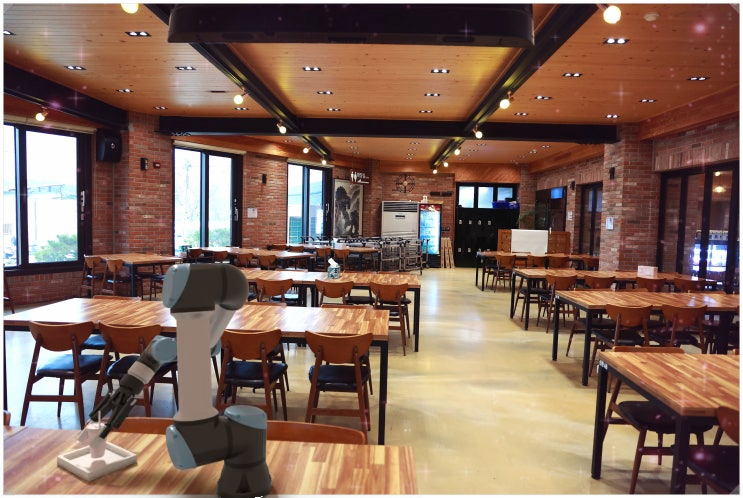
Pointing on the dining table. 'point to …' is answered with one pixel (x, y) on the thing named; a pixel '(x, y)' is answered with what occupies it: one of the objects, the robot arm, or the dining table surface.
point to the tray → (96, 461)
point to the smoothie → (92, 432)
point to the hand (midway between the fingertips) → (85, 444)
